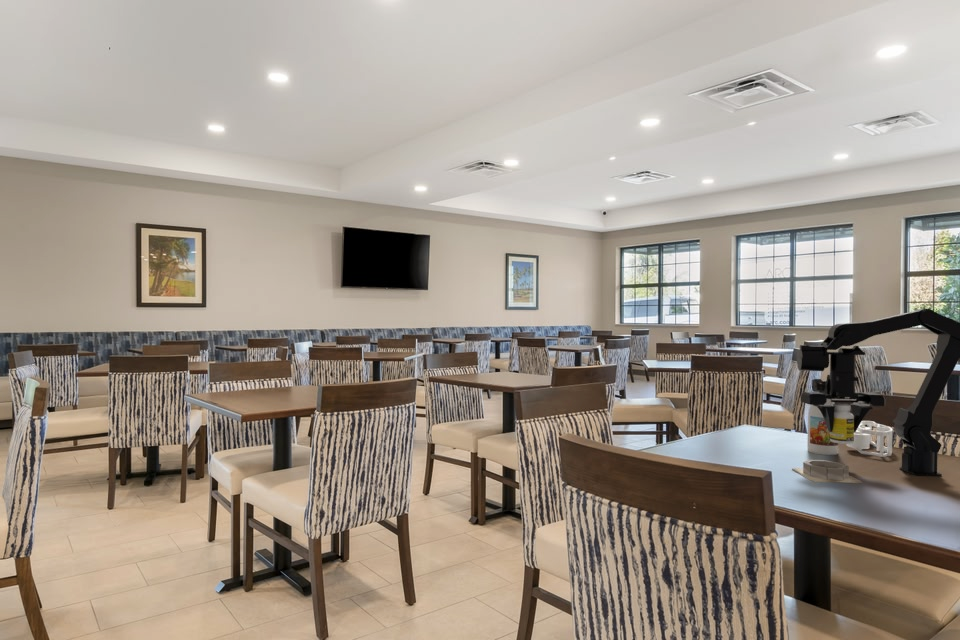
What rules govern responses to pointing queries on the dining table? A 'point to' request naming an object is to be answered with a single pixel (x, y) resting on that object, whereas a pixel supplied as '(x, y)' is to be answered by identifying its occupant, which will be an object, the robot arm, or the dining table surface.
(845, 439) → the supplement bottle
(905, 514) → the dining table surface
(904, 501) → the dining table surface
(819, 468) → the octagonal ring stand
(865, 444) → the skeletal toy car
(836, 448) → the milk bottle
